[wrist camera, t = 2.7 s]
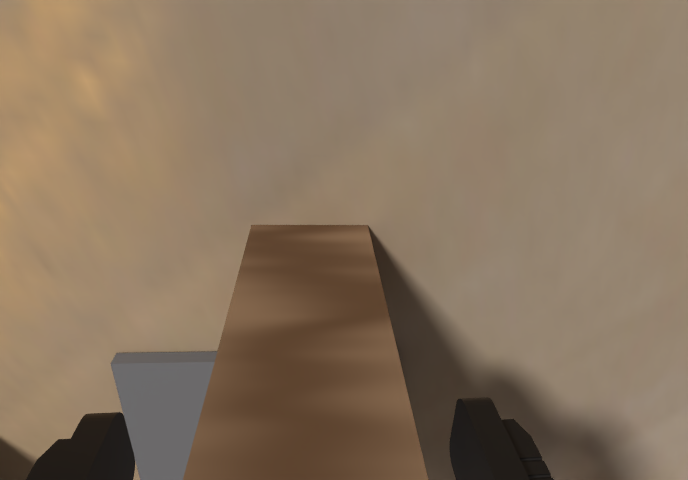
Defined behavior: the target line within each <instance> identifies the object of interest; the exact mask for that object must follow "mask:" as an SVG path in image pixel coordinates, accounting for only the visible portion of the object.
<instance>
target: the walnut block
mask: <svg viewBox="0 0 688 480" xmlns="http://www.w3.org/2000/svg"><path fill="white" fill-rule="evenodd" d="M183 480H428V476H427V472H426V468H425V463H424V459H423V455H422V451H421V447H420V442H419V438H418V434H417V430H416V426H415V421H414V417H413V413H412V409H411V405H410V400H409V396H408V392H407V388H406V384H405V379H404V375H403V371H402V367H401V363H400V359H399V354H398V350H397V346H396V342H395V338H394V333H393V329H392V325H391V321H390V317H389V312H388V308H387V304H386V300H385V296H384V291H383V287H382V283H381V279H380V275H379V270H378V266H377V262H376V258H375V254H374V249H373V245H372V241H371V237H370V233H369V228H368V225H251V229H250V233H249V237H248V240H247V244H246V248H245V251H244V255H243V259H242V262H241V266H240V270H239V274H238V277H237V281H236V285H235V288H234V292H233V296H232V299H231V303H230V307H229V311H228V314H227V318H226V322H225V325H224V329H223V333H222V337H221V340H220V344H219V348H218V351H217V355H216V359H215V362H214V366H213V370H212V374H211V377H210V381H209V385H208V388H207V392H206V396H205V400H204V403H203V407H202V411H201V414H200V418H199V422H198V425H197V429H196V433H195V437H194V440H193V444H192V448H191V451H190V455H189V459H188V462H187V466H186V470H185V474H184V477H183Z"/></svg>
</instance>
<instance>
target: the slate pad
mask: <svg viewBox="0 0 688 480" xmlns="http://www.w3.org/2000/svg"><path fill="white" fill-rule="evenodd" d="M397 350H398V349H397ZM398 354H399V353H398ZM216 355H217V352H152V353H116V355H115V357H114V359H113V360H112V362H111V367H112V371H113V375H114V379H115V383H116V386H117V390H118V394H119V398H120V402H121V406H122V410H123V414H124V418H125V422H126V425H127V429H128V433H129V437H130V441H131V445H132V448H133V452H134V457H135V461H136V464H137V468H138V472H139V476H140V480H183V477H184V474H185V470H186V466H187V462H188V459H189V455H190V451H191V448H192V444H193V440H194V437H195V433H196V429H197V425H198V422H199V418H200V414H201V411H202V407H203V403H204V400H205V396H206V392H207V388H208V385H209V381H210V377H211V374H212V370H213V366H214V362H215V359H216ZM399 359H400V357H399Z"/></svg>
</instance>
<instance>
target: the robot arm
mask: <svg viewBox="0 0 688 480" xmlns="http://www.w3.org/2000/svg"><path fill="white" fill-rule="evenodd" d="M450 457H451V463H452V467H453V471H454V474H455V477H456V480H554V479H553V478H551V476H550V472H549V470H548V468H547V466H546V464H545V462H544V461H542V456H541V455H540V453H539V451H538V449H537V447H536V445H535V443H534V441H533V439H532V437H531V436H530V435H529V434H528V433H527V432H526V431H525V430H524V429H523V428H522V427H521V426H520V425H519V424H518V423H517V422H516V421H515V420H514V419H507V420H501V418H500V416H499V414H498V412H497V410H496V407H495V405H494V403H493V402H492V400H491V399H490V398H467V399H458V401H457V404H456V409H455V415H454V420H453V426H452V432H451V437H450ZM134 471H135V457H134V452H133V448H132V445H131V441H130V437H129V433H128V429H127V426H126V422H125V418H124V416H123V414H122V413H120V412H118V413H94V414H86V415H85V416H83V418H82V419H81V421H80V422H79V424H78V426H77V428H76V430H75V432H74V434H73V436H72V438H71V439H58V440H57V441H56V442H55V443H54V444H53V445H52V446H51V447H50V448H49V449H48V450H47V451H46V452H45V453H44V454H43V455H42V456H41V457H40V458H39V459H38V460H37V461H36V463H35V465H34V466H33V468H32V470H31V471H30V473H29V475H28V477H27V478H26V480H133V477H134Z"/></svg>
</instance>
